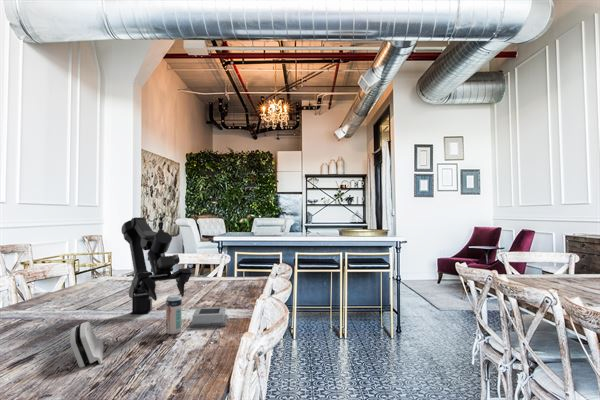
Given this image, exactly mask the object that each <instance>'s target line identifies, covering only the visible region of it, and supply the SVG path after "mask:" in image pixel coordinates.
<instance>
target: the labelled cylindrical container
mask: <svg viewBox="0 0 600 400" xmlns="http://www.w3.org/2000/svg"><path fill="white" fill-rule="evenodd" d="M165 303H166V305H165V306H166V307H165V311H166V312H165V313H166V315H165V318H166V319H165V323H166V324H165V332H166V333H167V334H168V335H178V334H180V333H181V332H182V310H183V309H182V307H183V306H182V296H181V294H171V295H168V296H167V297H166V300H165Z"/></svg>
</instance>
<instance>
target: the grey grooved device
mask: <svg viewBox="0 0 600 400" xmlns="http://www.w3.org/2000/svg"><path fill="white" fill-rule="evenodd" d="M69 339H70V341H69V342H70V346H71V349H72V351H73V355H74V356H75V359H76V362H77V365H78V367H79V368H81V369H82V368H85V366H86V365H87V363H88V364H92V363H93V364H94V362H96V361H97V362H98V364H99V365H103V357H104V347H105V346H104V345H105V344H104V342H103V340H102V339H101V338H97V337H96V334H95V332H94V330H93V327H92V325H91V323H90V322H89V321H86V322H82V323H81V324H80V325H79V324H77V325H75V326H74V327H72V328H71V331H70V334H69Z"/></svg>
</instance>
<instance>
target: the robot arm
mask: <svg viewBox="0 0 600 400" xmlns="http://www.w3.org/2000/svg"><path fill="white" fill-rule="evenodd" d="M121 234H122V235H123V239H124V240H125V242H127V243H128V244H129V248H130V254H131V255H130V256H131V261H132V265H133V272H134V276H133V278H132V281H131V284H130V287H129V290H128V297H129V299H132V300H131V307H132V308H131V310H132V311H131V312H130V315H136V314H137V315H139V314H141V315H143V314H144V315H145V314H148V313H150V312H151V311H152V310H153V300H154V302H156V301H157V300H158V297H157V294H156V286H157V283H156V282H165V281H171V280H172V281H173V280H175V282H176V287H177V289H178V291H179V295H180V296H181V298H182V297H183V298H184V296H185V284H187V283H188V282H189V281H190V278H191V276H192V273H193V272H192V270H191V268H190V267H184V268H183V267H182V268H178V271H177V272H175V273H172V272H173V270H174V266H175V265H178V264H179V263H180V256H179V254H178V253H177V254H172V255H166V254H165V253H167V252H168V250H169V248H170V245H171V242H172V241H173V236H172V235H171V234H170V233H168V232H166V231H165V230H164V229H158V230H157V232H156V231H155V230H153V228H151V226H150V225H149V223H148V222H147V218H145V217H132V218H131V219H130V220H128V221H125V222H124V223H123V224H122V225H121ZM144 251H148V252H147V253H146V254H147V261H148V262H149V263H150V264H149V265H150V271H148V269H147V264H146V259H145V254H144Z"/></svg>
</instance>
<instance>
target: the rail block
mask: <svg viewBox="0 0 600 400" xmlns="http://www.w3.org/2000/svg"><path fill="white" fill-rule="evenodd" d="M227 320H228V314H226V306H221V307H220V306H219V307H217V306H216V307H215V306H214V307H213V306H212V307H196V309H195V310H194V312H193V314H192V321H191V323H190V325H189V329H200V328H201V329H202V328H203V329H204V328H221V327H224V328H225V327H227V323H228V321H227Z"/></svg>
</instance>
